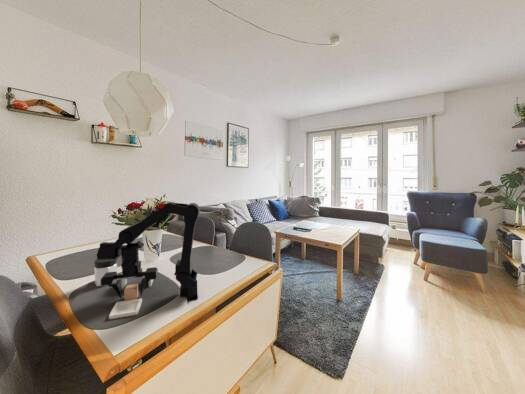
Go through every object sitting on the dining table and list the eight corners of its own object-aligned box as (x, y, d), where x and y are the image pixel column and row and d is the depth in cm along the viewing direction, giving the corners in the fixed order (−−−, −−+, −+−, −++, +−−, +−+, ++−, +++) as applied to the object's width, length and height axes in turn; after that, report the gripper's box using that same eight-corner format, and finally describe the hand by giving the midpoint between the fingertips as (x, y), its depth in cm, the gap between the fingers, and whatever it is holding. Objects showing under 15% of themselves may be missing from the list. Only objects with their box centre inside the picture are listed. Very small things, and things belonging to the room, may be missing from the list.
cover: (153, 279, 103) (153, 262, 102) (151, 286, 96) (150, 268, 96) (124, 282, 99) (123, 265, 98) (120, 290, 92) (119, 271, 92)
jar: (119, 284, 100) (118, 259, 99) (97, 291, 94) (96, 264, 93) (114, 278, 106) (113, 254, 105) (93, 283, 100) (92, 258, 99)
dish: (142, 301, 85) (141, 298, 85) (137, 314, 77) (137, 311, 77) (116, 305, 82) (116, 302, 82) (109, 319, 74) (108, 315, 74)
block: (138, 295, 89) (137, 283, 89) (136, 300, 85) (135, 288, 85) (127, 296, 88) (126, 285, 87) (124, 302, 84) (124, 290, 84)
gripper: (158, 249, 96) (159, 283, 97) (109, 254, 90) (110, 289, 91) (155, 259, 85) (156, 296, 87) (99, 264, 79) (101, 304, 81)
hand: (131, 296), depth 87 cm, fingers open, 7 cm apart
